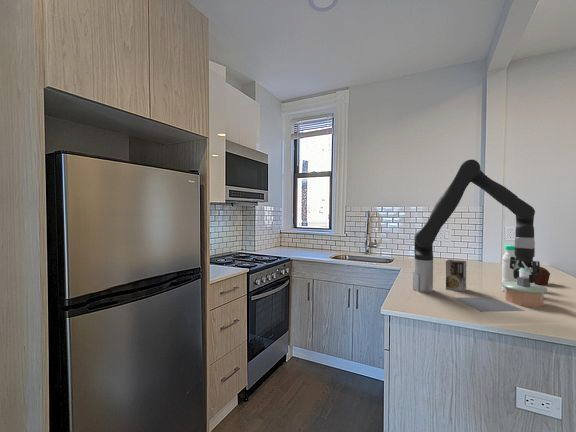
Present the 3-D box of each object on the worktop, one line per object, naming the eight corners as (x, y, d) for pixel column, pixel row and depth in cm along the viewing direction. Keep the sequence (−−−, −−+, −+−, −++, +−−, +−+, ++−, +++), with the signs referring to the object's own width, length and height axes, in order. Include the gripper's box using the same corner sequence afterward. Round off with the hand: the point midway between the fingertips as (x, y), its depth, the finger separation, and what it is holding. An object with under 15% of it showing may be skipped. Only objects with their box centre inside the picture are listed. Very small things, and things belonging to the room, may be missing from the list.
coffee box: (466, 290, 163) (467, 261, 163) (463, 292, 158) (464, 262, 158) (448, 287, 169) (448, 259, 169) (445, 289, 165) (445, 260, 164)
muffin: (548, 286, 170) (548, 269, 170) (524, 283, 178) (524, 266, 178) (551, 283, 178) (551, 267, 177) (528, 280, 186) (528, 264, 186)
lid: (521, 293, 132) (521, 282, 132) (493, 283, 149) (493, 273, 149) (557, 292, 133) (558, 281, 133) (525, 283, 150) (525, 273, 150)
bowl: (521, 307, 134) (522, 292, 133) (498, 298, 148) (498, 284, 147) (551, 307, 134) (551, 291, 134) (525, 298, 148) (525, 284, 148)
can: (517, 289, 165) (518, 267, 165) (519, 286, 170) (519, 266, 170) (534, 291, 160) (534, 269, 160) (534, 289, 165) (535, 267, 165)
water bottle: (514, 290, 163) (515, 245, 162) (520, 293, 156) (521, 246, 155) (499, 289, 165) (500, 244, 164) (504, 292, 158) (505, 246, 158)
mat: (480, 312, 127) (480, 311, 127) (452, 298, 147) (452, 297, 147) (524, 311, 128) (524, 310, 128) (491, 298, 148) (491, 297, 148)
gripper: (505, 245, 147) (504, 277, 148) (529, 248, 133) (529, 284, 133) (519, 244, 148) (519, 277, 148) (545, 248, 133) (545, 284, 134)
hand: (523, 280), depth 141 cm, fingers open, 8 cm apart
